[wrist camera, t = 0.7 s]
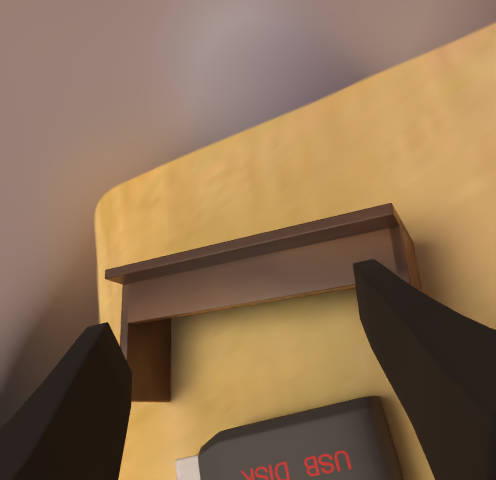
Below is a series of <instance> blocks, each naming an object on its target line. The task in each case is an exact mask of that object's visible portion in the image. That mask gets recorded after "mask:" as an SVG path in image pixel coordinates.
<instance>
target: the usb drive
mask: <svg viewBox="0 0 496 480" xmlns="http://www.w3.org/2000/svg"><path fill="white" fill-rule="evenodd" d="M175 465H176V474H177V480H404V478H403V475H402V471H401V468H400V465H399V461H398V458H397V454H396V451H395V448H394V444H393V441H392V437H391V434H390V430H389V427H388V424H387V420H386V417H385V413H384V410H383V407H382V403H381V400H380V397H379V396H368V397H362V398H357V399H353V400H349V401H345V402H340V403H336V404H332V405H328V406H324V407H319V408H315V409H311V410H307V411H303V412H298V413H294V414H290V415H286V416H282V417H278V418H273V419H269V420H265V421H261V422H257V423H252V424H248V425H244V426H240V427H236V428H231V429H227V430H224V431H221V432H219V433H217V434H216V435H215V436H214V437H213V438H212V439H210V440H209V441H208V442H207V443H206V444H205V445H203V446H202V447H201V449H200V452H199V455H195V456H190V457H186V458H181V459H177V460H175Z"/></svg>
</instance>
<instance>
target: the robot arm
mask: <svg viewBox="0 0 496 480" xmlns="http://www.w3.org/2000/svg"><path fill="white" fill-rule="evenodd" d="M353 270H354V278H355V285H356V292H357V300H358V307H359V315H360V320H361V323H362V325H363V328H364V330H365V333H366V336H367V338H368V341H369V343H370V346H371V348H372V350H373V352H374V354H375V356H376V358H377V360H378V361H379V363H380V365H381V367H382V369H383V371H384V373H385V374H386V376H387V378H388V380H389V382H390V384H391V385H392V387H393V389H394V391H395V393H396V395H397V396H398V398H399V400H400V402H401V404H402V406H403V407H404V409H405V411H406V413H407V415H408V417H409V419H410V421H411V423H412V425H413V427H414V430H415V432H416V434H417V437H418V439H419V442H420V444H421V446H422V449H423V451H424V453H425V456H426V458H427V461H428V463H429V466H430V468H431V470H432V473H433V475H434V478H435V480H496V330H494V329H492V328H489V327H487V326H485V325H482V324H480V323H478V322H476V321H474V320H472V319H470V318H467V317H465V316H463V315H461V314H459V313H457V312H455V311H453V310H451V309H450V308H448V307H446V306H444V305H443V304H441V303H439V302H437V301H436V300H434V299H432V298H431V297H429V296H427V295H426V294H424V293H423V292H421V291H420V290H418V289H417V288H415V287H414V286H412V285H411V284H409V283H408V282H406V281H405V280H403V279H402V278H400V277H399V276H398V275H396V274H395V273H393V272H392V271H391V270H389V269H388V268H387V267H385V266H384V265H383V264H381V263H380V262H378V261H377V260H375V259H370V260H365V261H361V262H357V263H353ZM131 399H132V371H131V369H130V367H129V365H128V363H127V360H126V358H125V356H124V354H123V352H122V350H121V348H120V346H119V344H118V342H117V340H116V338H115V336H114V334H113V332H112V329H111V327H110V325H109V323H108V322H106V323H102V324H98V325H94V326H90V327H87V328H86V329H85V331H84V332H83V333H82V334H81V335H80V336H79V338H78V339H77V340H76V342H75V343H74V344H73V346H72V347H71V348H70V349H69V350H68V352H67V353H66V354H65V355H64V357H63V358H62V359H61V360H60V362H59V363H58V364H57V365H56V367H55V368H54V369H53V370H52V372H51V373H50V374H49V375H48V377H47V378H46V379H45V380H44V382H43V383H42V384H41V385H40V386H39V387H38V388H37V389H36V391H35V392H34V393H33V394H32V395H31V396H30V397H29V399H28V400H27V401H26V402H25V403H24V404H23V406H22V407H21V408H20V409H19V410H18V411H17V412H16V413H15V414H14V415H13V416H12V417H11V418H10V419H9V420H8V421H7V423H5V424H4V425H3V426H2V427H1V428H0V480H118V477H119V472H120V466H121V461H122V455H123V450H124V444H125V438H126V433H127V427H128V421H129V415H130V409H131Z"/></svg>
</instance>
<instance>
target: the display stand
mask: <svg viewBox="0 0 496 480" xmlns="http://www.w3.org/2000/svg"><path fill="white" fill-rule="evenodd" d="M370 259H375V260H377V261H378V262H380V263H381V264H383V265H384V266H385V267H387V268H388V269H389V270H391V271H392V272H393V273H395V274H396V275H398V276H399V277H400V278H402V279H403V280H405V281H406V282H408V283H409V284H411V285H412V286H414V287H415V288H417V289H418V290H420V291H421V292H422V287H421V282H420V277H419V271H418V266H417V261H416V255H415V250H414V245H413V241H412V239H411V237H410V235H409V234H408V232H407V230H406V228H405V226H404V225H403V223H402V221H401V219H400V217H399V215H398V214H397V212H396V210H395V208H394V206H393V205H392V203H389V204H385V205H380V206H376V207H372V208H368V209H363V210H359V211H355V212H351V213H346V214H342V215H338V216H334V217H329V218H325V219H321V220H316V221H312V222H308V223H304V224H299V225H295V226H291V227H287V228H282V229H278V230H274V231H270V232H265V233H261V234H257V235H252V236H248V237H244V238H240V239H235V240H231V241H227V242H223V243H218V244H214V245H210V246H206V247H201V248H197V249H193V250H189V251H184V252H180V253H176V254H171V255H167V256H163V257H159V258H154V259H150V260H146V261H142V262H137V263H133V264H129V265H125V266H120V267H116V268H112V269H107V270H105V279H107V280H110V281H113V282H116V283H120V284H123V290H122V311H121V335H120V348H121V350H122V352H123V354H124V356H125V358H126V360H127V363H128V365H129V367H130V369H131V371H132V399H131V402H169V401H170V352H171V318H175V317H181V316H187V315H193V314H199V313H205V312H211V311H217V310H223V309H229V308H235V307H241V306H247V305H253V304H259V303H265V302H271V301H277V300H283V299H289V298H295V297H301V296H307V295H313V294H319V293H325V292H331V291H337V290H343V289H349V288H355V287H356V285H355V278H354V270H353V263H357V262H361V261H365V260H370Z"/></svg>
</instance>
